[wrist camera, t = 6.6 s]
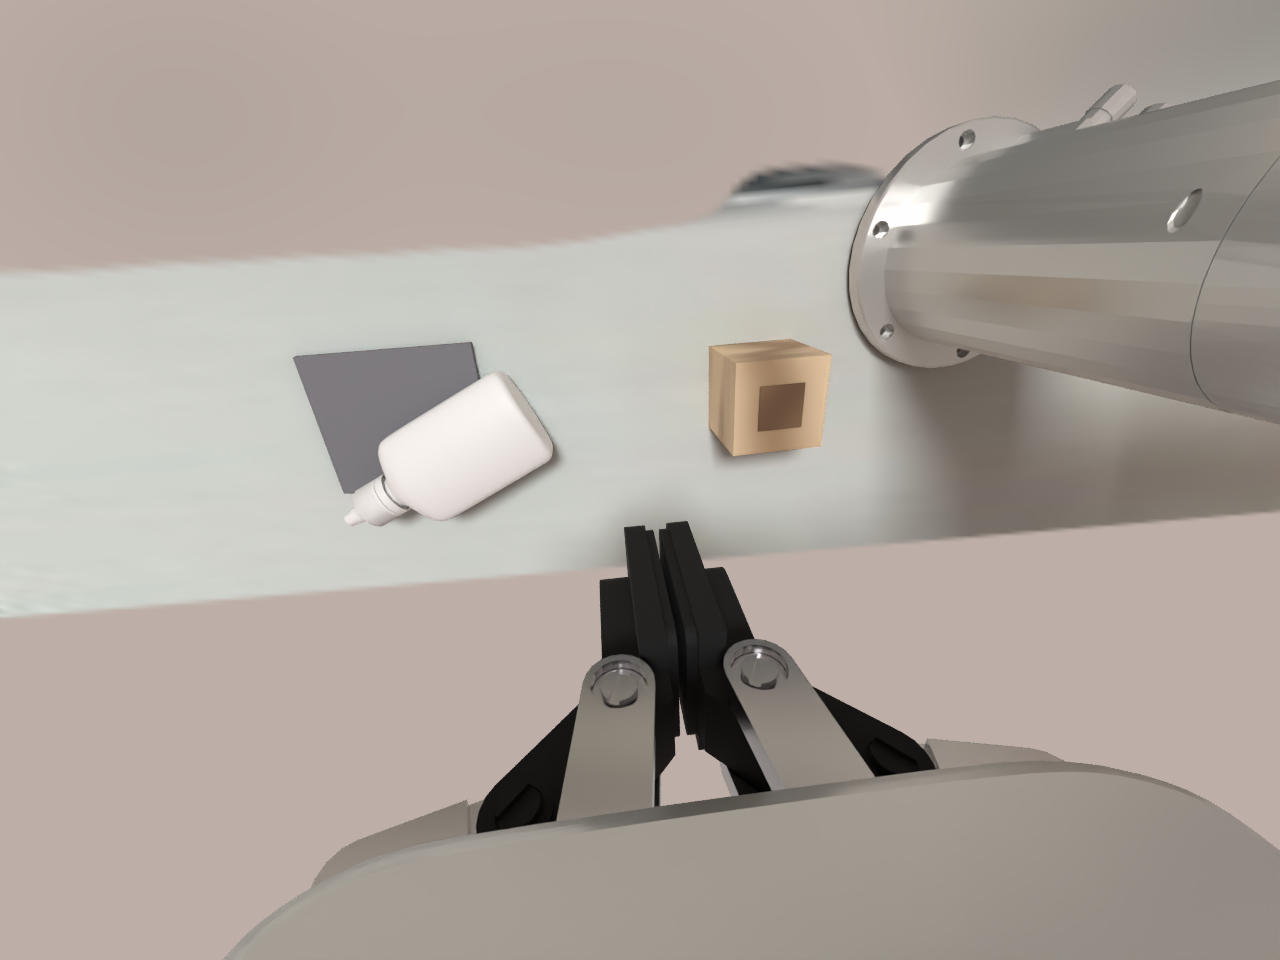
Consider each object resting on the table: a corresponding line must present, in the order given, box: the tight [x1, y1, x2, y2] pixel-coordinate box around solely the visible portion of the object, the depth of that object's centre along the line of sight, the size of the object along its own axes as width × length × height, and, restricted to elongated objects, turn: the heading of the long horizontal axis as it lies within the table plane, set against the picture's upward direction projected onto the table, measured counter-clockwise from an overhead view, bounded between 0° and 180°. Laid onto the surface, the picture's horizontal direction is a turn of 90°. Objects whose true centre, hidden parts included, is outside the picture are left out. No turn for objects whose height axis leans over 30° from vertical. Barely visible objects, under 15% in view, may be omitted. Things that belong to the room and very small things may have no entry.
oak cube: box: [709, 339, 832, 456], centre depth 27 cm, size 5×5×5 cm
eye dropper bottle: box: [344, 371, 553, 526], centre depth 26 cm, size 4×6×12 cm
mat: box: [293, 342, 479, 494], centre depth 27 cm, size 9×8×1 cm
